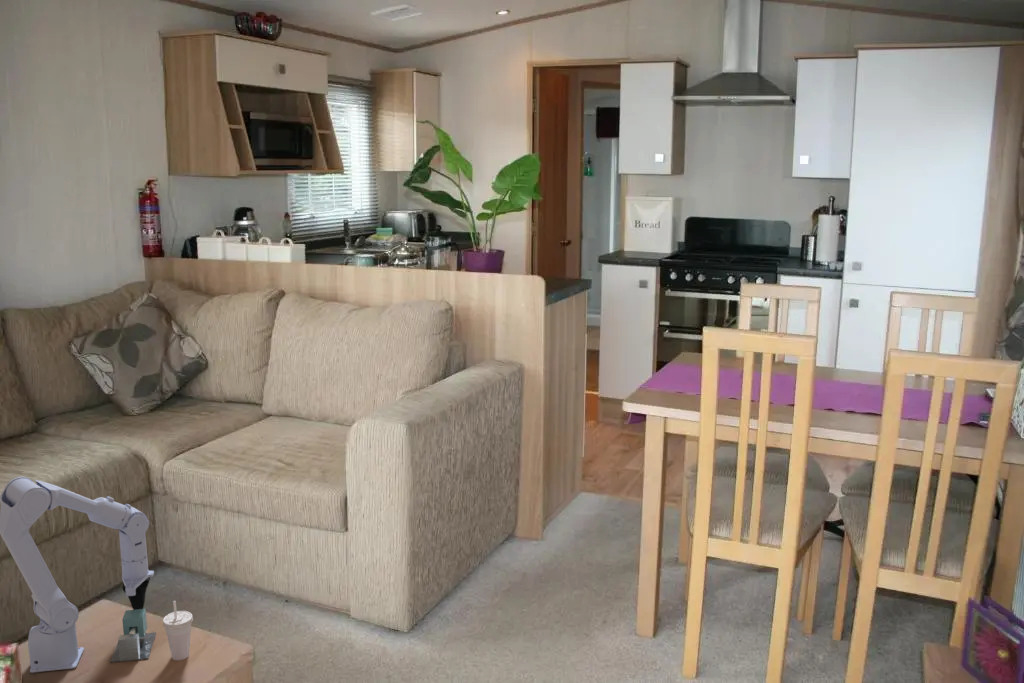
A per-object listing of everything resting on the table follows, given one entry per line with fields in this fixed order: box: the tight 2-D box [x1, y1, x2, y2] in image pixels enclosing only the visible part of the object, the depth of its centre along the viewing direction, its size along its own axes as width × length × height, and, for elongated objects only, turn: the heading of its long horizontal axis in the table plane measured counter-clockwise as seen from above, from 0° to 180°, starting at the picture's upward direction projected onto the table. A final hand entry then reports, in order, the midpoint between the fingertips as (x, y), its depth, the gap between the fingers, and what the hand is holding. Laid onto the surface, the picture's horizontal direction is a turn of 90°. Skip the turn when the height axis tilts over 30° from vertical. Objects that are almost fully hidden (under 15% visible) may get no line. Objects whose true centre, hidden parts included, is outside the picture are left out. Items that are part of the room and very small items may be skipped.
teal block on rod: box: [121, 608, 148, 637], centre depth 209 cm, size 4×4×5 cm
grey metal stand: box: [110, 626, 157, 663], centre depth 207 cm, size 8×11×6 cm
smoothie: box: [162, 600, 194, 661], centre depth 203 cm, size 6×6×14 cm
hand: (138, 608), depth 214 cm, fingers closed
